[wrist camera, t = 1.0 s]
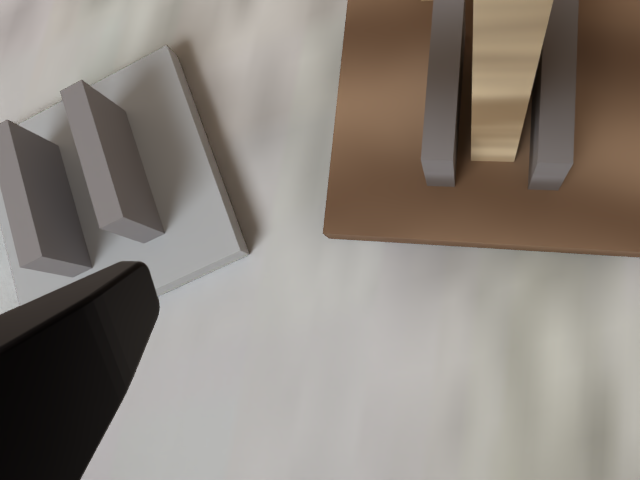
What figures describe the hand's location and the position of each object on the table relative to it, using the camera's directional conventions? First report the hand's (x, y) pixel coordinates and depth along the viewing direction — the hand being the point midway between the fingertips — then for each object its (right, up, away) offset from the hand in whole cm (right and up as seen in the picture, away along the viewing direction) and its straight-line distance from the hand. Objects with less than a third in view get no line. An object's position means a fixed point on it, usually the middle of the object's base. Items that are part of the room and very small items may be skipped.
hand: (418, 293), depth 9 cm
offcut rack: (+5, +8, +14) cm, 17 cm away
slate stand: (-11, +3, +17) cm, 20 cm away
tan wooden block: (+5, +6, +12) cm, 15 cm away
